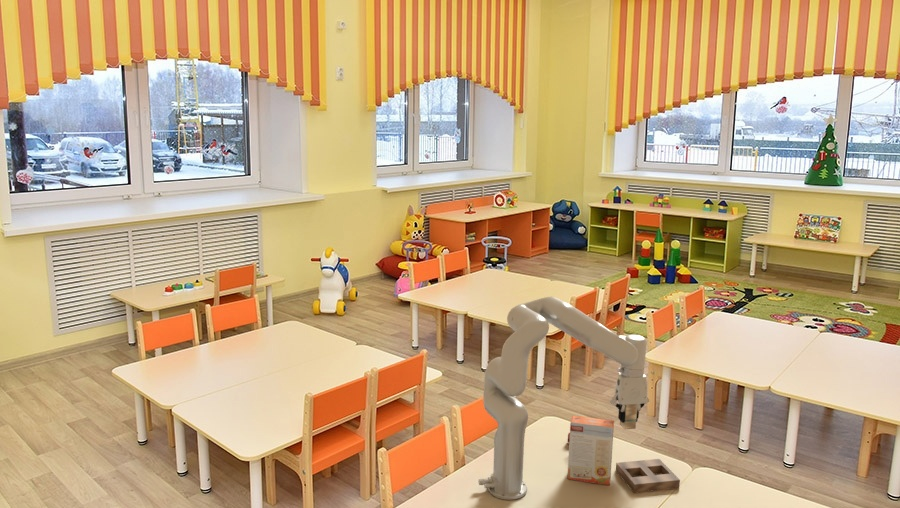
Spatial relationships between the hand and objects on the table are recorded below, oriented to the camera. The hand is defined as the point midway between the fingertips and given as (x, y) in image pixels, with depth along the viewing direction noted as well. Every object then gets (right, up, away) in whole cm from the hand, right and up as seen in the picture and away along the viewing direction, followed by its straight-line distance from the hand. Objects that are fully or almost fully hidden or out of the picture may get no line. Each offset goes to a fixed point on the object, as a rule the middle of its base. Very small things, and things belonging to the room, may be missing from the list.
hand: (628, 420), depth 244 cm
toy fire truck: (-15, -14, +12) cm, 23 cm away
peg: (0, -2, +1) cm, 2 cm away
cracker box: (-15, -18, -7) cm, 25 cm away
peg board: (+4, -18, -7) cm, 20 cm away
